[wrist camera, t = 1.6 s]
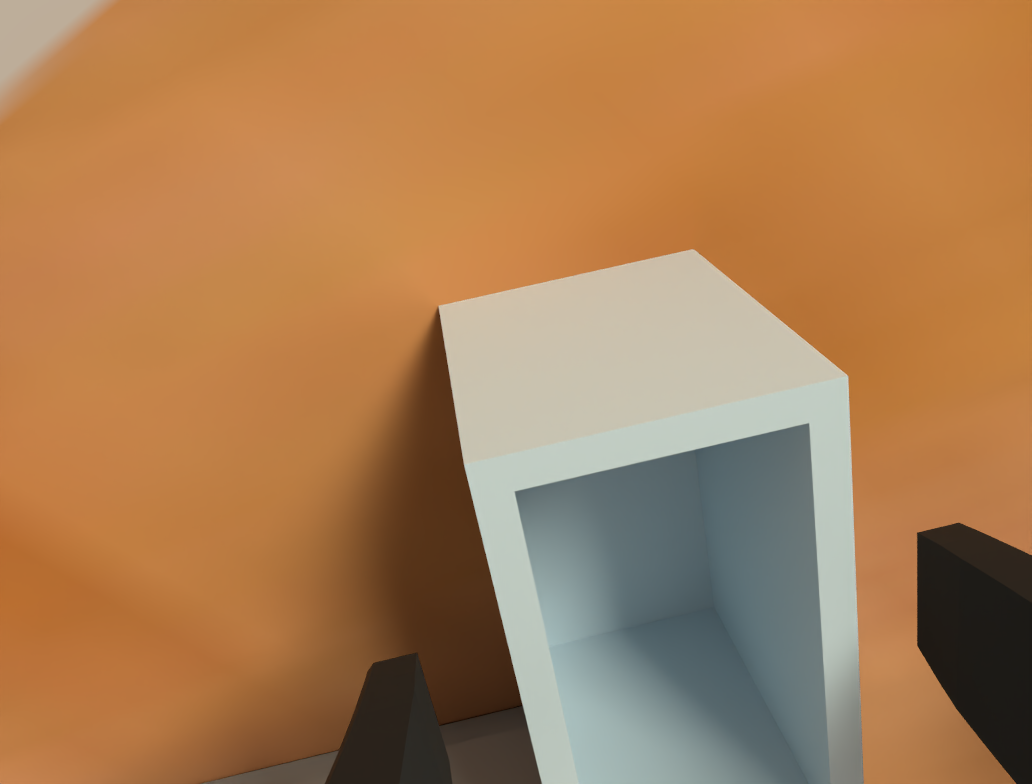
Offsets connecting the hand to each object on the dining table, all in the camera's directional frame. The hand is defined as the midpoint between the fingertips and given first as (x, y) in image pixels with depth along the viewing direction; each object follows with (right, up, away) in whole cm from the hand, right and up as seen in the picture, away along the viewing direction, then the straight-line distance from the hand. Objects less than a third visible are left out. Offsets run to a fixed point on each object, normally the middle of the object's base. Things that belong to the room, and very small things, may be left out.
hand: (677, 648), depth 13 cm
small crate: (-1, +2, +5) cm, 5 cm away
